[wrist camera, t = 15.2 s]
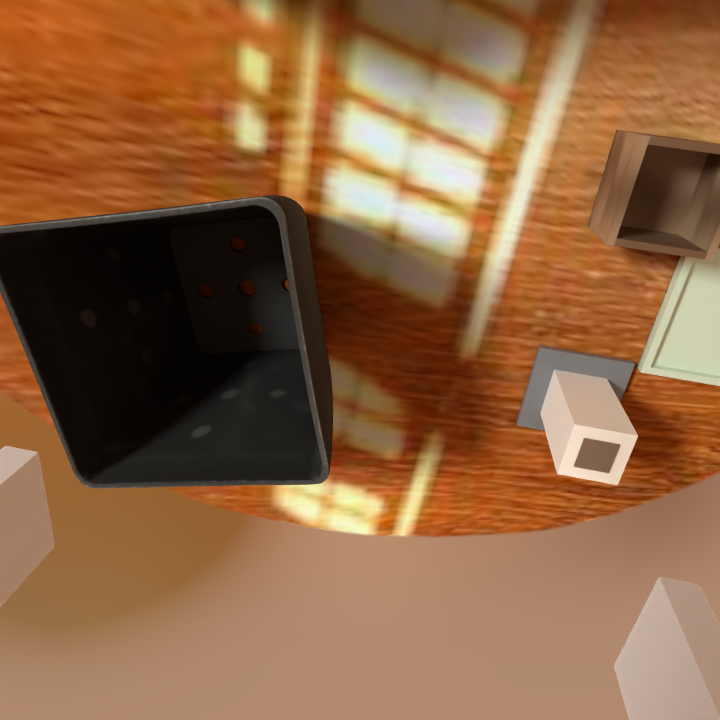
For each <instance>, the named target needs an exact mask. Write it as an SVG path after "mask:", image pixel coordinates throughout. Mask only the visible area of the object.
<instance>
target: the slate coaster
mask: <svg viewBox="0 0 720 720" xmlns="http://www.w3.org/2000/svg"><path fill="white" fill-rule="evenodd" d="M634 366H635V363H634V362H633V361H630V360H624V359H618V358H612V357H606V356H601V355H595V354H589V353H583V352H577V351H571V350H565V349H559V348H554V347H548V346H542V345H539V346H538V350H537V353H536V356H535V360H534V363H533V367H532V370H531V373H530V377H529V380H528V384H527V387H526V390H525V394H524V397H523V401H522V404H521V407H520V411H519V414H518V418H517V421H516V424H517V426H522V427H528V428H533V429H539V430H544V431H545V428H544V424H543V421H542V417H541V414H540V413H541V409H542V406H543V403H544V400H545V397H546V394H547V390H548V387H549V384H550V381H551V378H552V375H553V371H554V370H560V371H566V372H572V373H577V374H583V375H589V376H595V377H601V378H606V379H607V380H608V382H609V384H610V385H611V387H612V389H613V391H614V393H615V394H616V396H617V398H618V400H619V402H621V399H622V397H623V394H624V392H625V389H626V386H627V384H628V381H629V379H630V376H631V374H632V371H633V368H634Z"/></svg>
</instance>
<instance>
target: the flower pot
mask: <svg viewBox="0 0 720 720" xmlns="http://www.w3.org/2000/svg"><path fill="white" fill-rule="evenodd" d="M234 237H241V238H242V239H243V240H244V242H245V249H244V250H243V251H242V252H237V251H235V250H233V248H232V247H231V240H232V239H233V238H234ZM285 278H288V283H289V289H290V292H288V291H286V290H285V289H284V288H283V287H282V281H283V279H285ZM244 280H247V281H251V282H252V283H253V284H254V285H255V288H256V291H255V293H254V294H253V295H251V296H246V295H244V294H242V293H241V291H240V289H239V284H240V282H241V281H244ZM203 284H206V285H209V286H210V287H211V288H212V290H213V292H214V294H213V296H212V297H211V298H204V297H203V296H201V294H200V292H199V287H200V286H201V285H203ZM0 292H1V295H2V297H3V300H4V302H5V305H6V307H7V309H8V312H9V314H10V317H11V319H12V321H13V324H14V326H15V329H16V331H17V334H18V336H19V338H20V341H21V343H22V346H23V348H24V351H25V353H26V355H27V358H28V360H29V363H30V365H31V368H32V370H33V372H34V375H35V377H36V380H37V382H38V385H39V387H40V390H41V392H42V395H43V397H44V400H45V402H46V405H47V407H48V410H49V412H50V415H51V417H52V420H53V422H54V425H55V427H56V430H57V432H58V434H59V437H60V440H61V442H62V444H63V447H64V449H65V452H66V454H67V457H68V459H69V462H70V464H71V467H72V469H73V472H74V474H75V476H76V477H77V479H78V481H80V482H81V483H82V484H83V485H85V486H87V487H90V488H137V487H181V486H236V485H309V484H319V483H322V482H324V481H325V480H326V479H327V478H328V475H329V470H330V462H331V451H332V434H333V395H332V382H331V372H330V365H329V358H328V351H327V346H326V340H325V334H324V329H323V323H322V317H321V310H320V304H319V298H318V292H317V285H316V279H315V273H314V267H313V260H312V254H311V247H310V240H309V234H308V226H307V219H306V215H305V213H304V210H303V209H302V207H301V206H300V205H299V204H298V203H297V202H296V201H294V200H292V199H290V198H288V197H284V196H278V195H267V196H259V197H251V198H242V199H234V200H226V201H217V202H209V203H201V204H193V205H185V206H177V207H168V208H159V209H151V210H142V211H133V212H124V213H116V214H105V215H96V216H86V217H77V218H68V219H59V220H50V221H41V222H31V223H22V224H13V225H5V226H0ZM253 322H254V323H258V324H260V325H261V327H262V329H263V332H262V334H261V335H258V336H256V335H253V334H252V333H251V332H250V330H249V325H250V324H251V323H253Z"/></svg>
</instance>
